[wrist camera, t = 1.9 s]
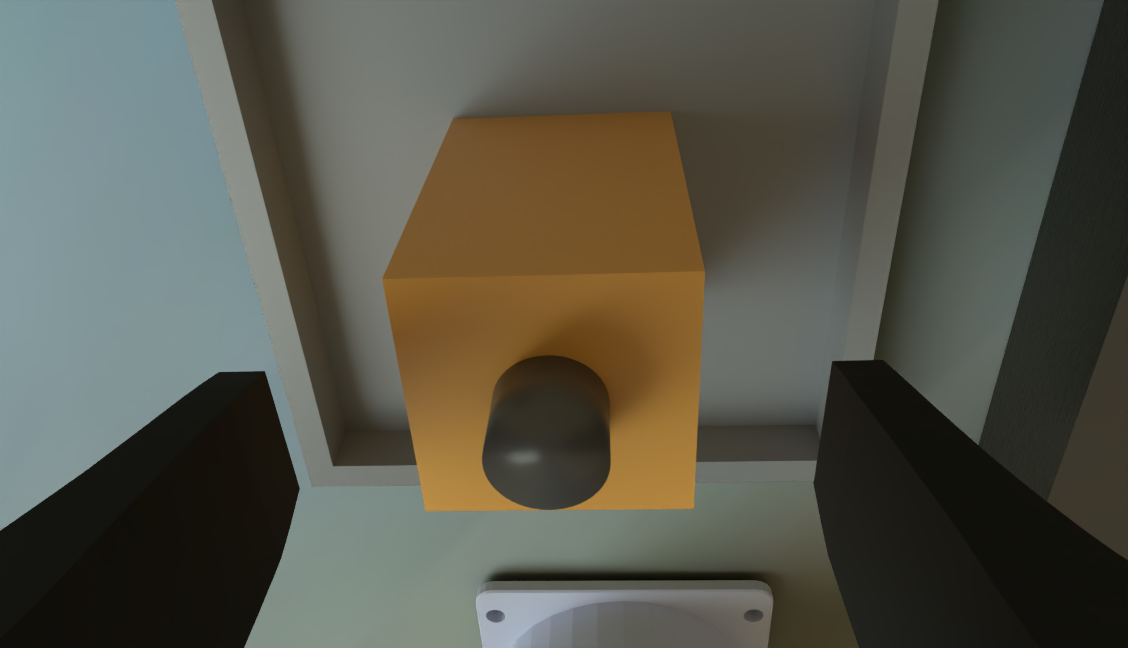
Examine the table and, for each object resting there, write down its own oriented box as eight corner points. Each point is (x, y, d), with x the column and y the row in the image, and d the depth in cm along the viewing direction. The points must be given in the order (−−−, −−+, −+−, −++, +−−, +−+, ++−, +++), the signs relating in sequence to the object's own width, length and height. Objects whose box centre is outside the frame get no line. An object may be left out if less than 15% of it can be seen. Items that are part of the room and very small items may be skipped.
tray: (831, 428, 20) (851, 481, 18) (333, 434, 21) (312, 486, 19) (924, -155, 13) (965, -147, 12) (193, -117, 14) (145, -105, 13)
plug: (666, 299, 17) (701, 572, 11) (475, 304, 18) (409, 573, 12) (670, 111, 15) (716, 324, 9) (452, 118, 16) (358, 331, 10)
